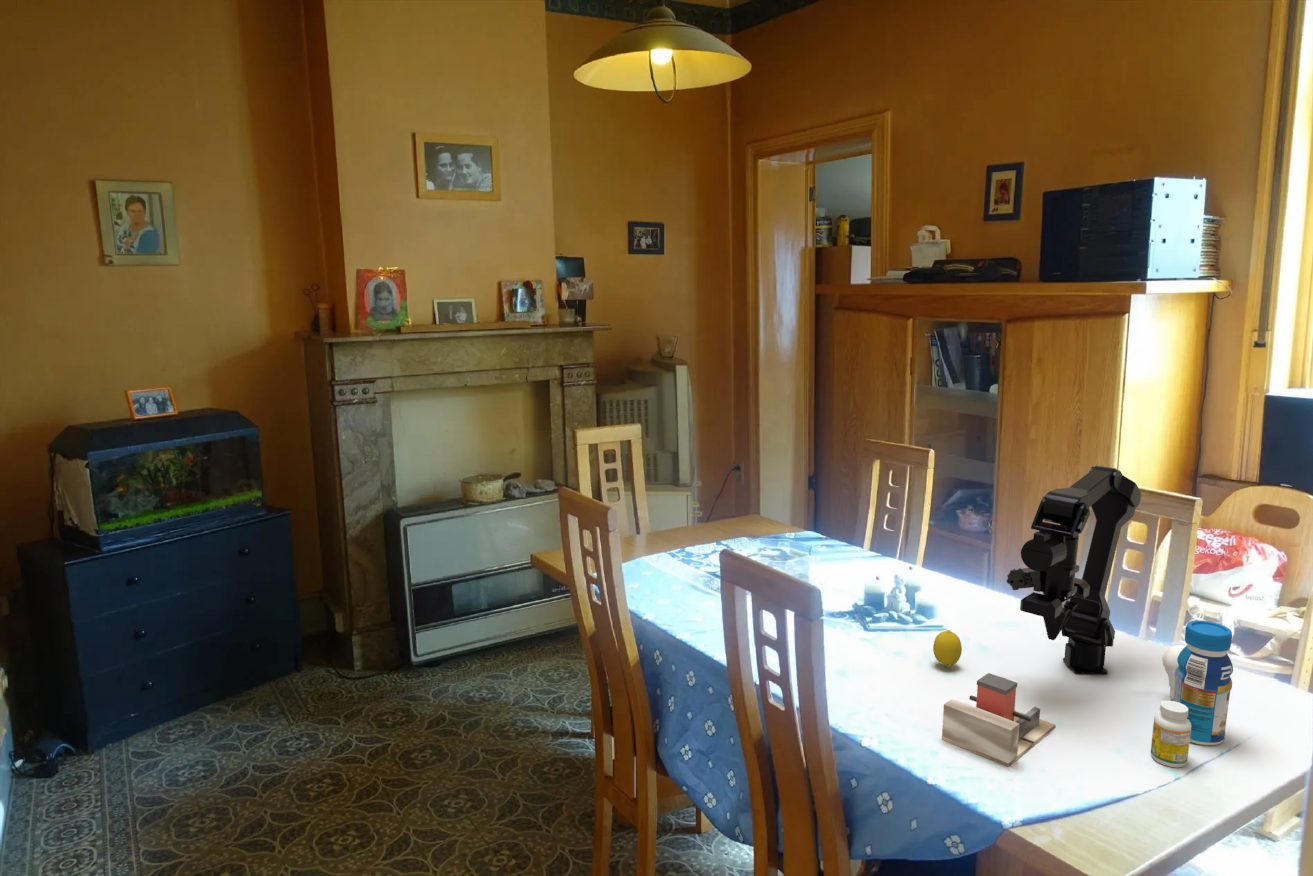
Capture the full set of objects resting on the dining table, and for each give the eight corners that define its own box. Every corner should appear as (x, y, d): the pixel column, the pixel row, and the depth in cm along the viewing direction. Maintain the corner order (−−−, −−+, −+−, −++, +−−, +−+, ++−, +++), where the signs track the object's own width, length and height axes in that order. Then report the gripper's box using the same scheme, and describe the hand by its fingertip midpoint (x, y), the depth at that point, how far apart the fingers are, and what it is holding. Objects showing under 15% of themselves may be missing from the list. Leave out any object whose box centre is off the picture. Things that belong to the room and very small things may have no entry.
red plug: (970, 717, 159) (973, 667, 157) (1030, 740, 151) (1034, 688, 149) (958, 725, 156) (961, 675, 154) (1018, 750, 148) (1022, 696, 146)
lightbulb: (1182, 712, 161) (1189, 656, 159) (1151, 698, 167) (1156, 644, 165) (1203, 704, 164) (1209, 649, 162) (1171, 690, 169) (1177, 637, 167)
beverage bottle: (1159, 722, 158) (1170, 617, 154) (1207, 722, 158) (1219, 617, 154) (1185, 747, 150) (1198, 637, 146) (1236, 747, 149) (1250, 637, 146)
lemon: (962, 673, 177) (964, 636, 176) (933, 671, 179) (935, 634, 177) (958, 661, 183) (960, 625, 181) (930, 659, 184) (932, 624, 182)
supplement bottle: (1183, 772, 143) (1189, 718, 141) (1146, 760, 146) (1152, 707, 144) (1190, 758, 147) (1196, 705, 145) (1153, 747, 150) (1159, 695, 148)
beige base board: (991, 703, 165) (993, 671, 164) (1055, 727, 157) (1058, 693, 155) (941, 739, 153) (943, 704, 152) (1008, 767, 145) (1011, 730, 143)
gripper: (1035, 540, 175) (1028, 615, 178) (995, 560, 162) (988, 640, 164) (1094, 553, 167) (1086, 630, 170) (1057, 574, 154) (1049, 658, 157)
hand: (1051, 639), depth 166 cm, fingers closed
